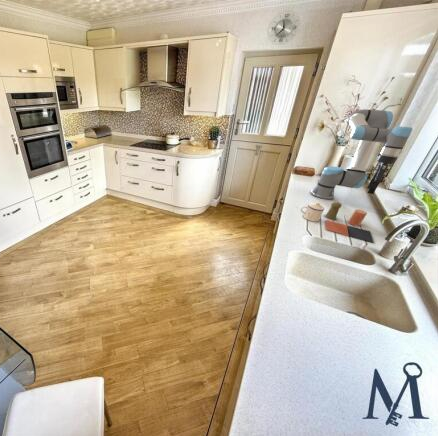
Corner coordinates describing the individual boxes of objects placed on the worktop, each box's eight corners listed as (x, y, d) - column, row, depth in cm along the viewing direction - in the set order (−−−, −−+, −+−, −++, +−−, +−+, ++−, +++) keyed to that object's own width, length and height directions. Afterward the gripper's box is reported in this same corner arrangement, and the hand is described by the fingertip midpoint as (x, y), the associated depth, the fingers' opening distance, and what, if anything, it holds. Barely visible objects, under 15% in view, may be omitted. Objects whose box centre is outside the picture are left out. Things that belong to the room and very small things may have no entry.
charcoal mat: (347, 226, 147) (347, 225, 147) (369, 232, 142) (369, 231, 142) (349, 236, 137) (349, 235, 137) (373, 243, 132) (373, 242, 132)
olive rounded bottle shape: (337, 220, 153) (345, 205, 148) (327, 219, 154) (334, 204, 149) (332, 215, 158) (340, 201, 153) (323, 214, 159) (330, 200, 154)
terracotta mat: (325, 220, 152) (326, 219, 152) (346, 226, 147) (346, 225, 147) (326, 230, 142) (326, 229, 142) (348, 236, 137) (348, 235, 137)
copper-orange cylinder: (348, 220, 154) (354, 208, 149) (359, 223, 151) (366, 211, 147) (348, 224, 150) (355, 211, 145) (360, 227, 147) (367, 214, 142)
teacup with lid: (318, 217, 156) (326, 202, 150) (319, 223, 149) (327, 207, 143) (298, 212, 161) (304, 197, 155) (297, 218, 154) (304, 202, 148)
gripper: (400, 159, 121) (379, 197, 130) (395, 154, 138) (377, 188, 148) (381, 156, 125) (362, 193, 134) (378, 152, 142) (362, 185, 152)
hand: (369, 191), depth 141 cm, fingers open, 13 cm apart
